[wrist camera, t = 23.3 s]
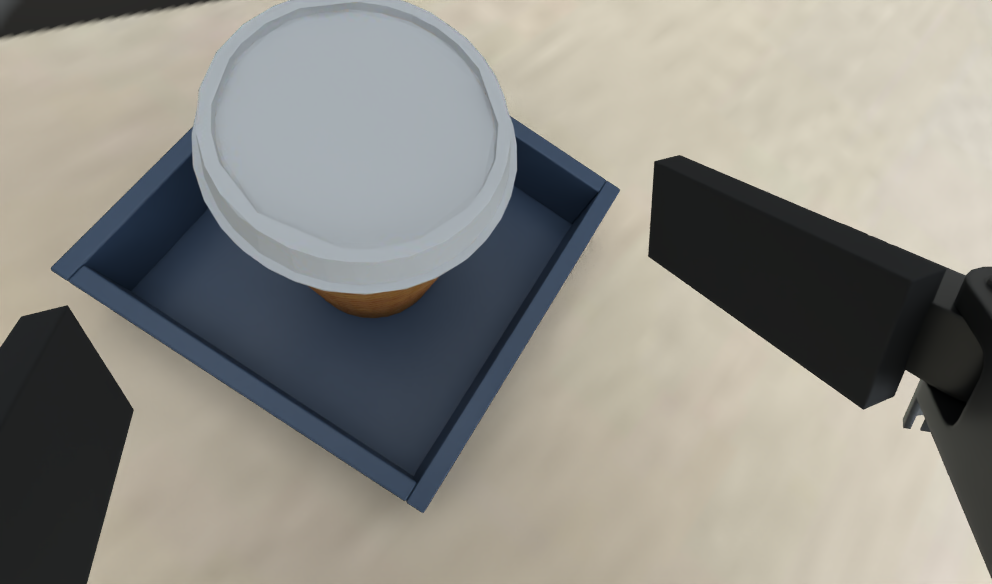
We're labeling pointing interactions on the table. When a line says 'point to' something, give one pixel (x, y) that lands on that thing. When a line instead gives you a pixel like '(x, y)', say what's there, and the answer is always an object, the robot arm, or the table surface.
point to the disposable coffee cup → (354, 148)
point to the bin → (340, 336)
